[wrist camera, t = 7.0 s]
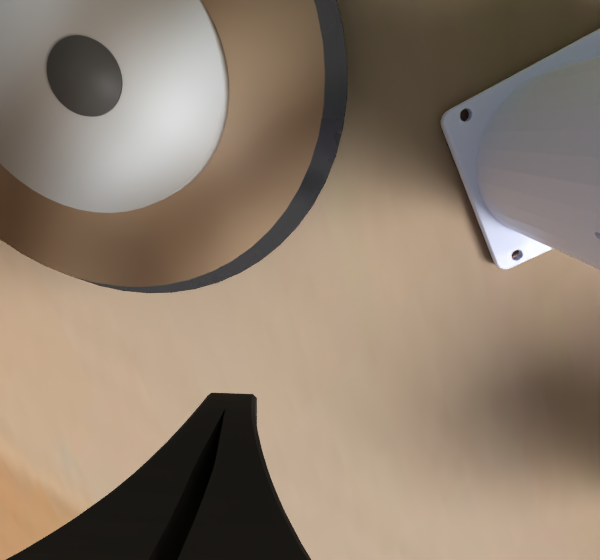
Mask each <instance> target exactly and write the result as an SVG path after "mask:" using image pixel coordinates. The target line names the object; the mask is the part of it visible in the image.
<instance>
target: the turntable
mask: <svg viewBox="0 0 600 560" xmlns="http://www.w3.org/2000/svg"><path fill="white" fill-rule="evenodd" d="M324 88H325V66H324V51H323V41H322V35H321V30H320V24H319V19H318V14H317V9H316V5H315V2H314V0H0V239H1V240H2V241H4V242H5V243H7V244H8V245H10V246H11V247H13V248H14V249H16V250H17V251H19V252H20V253H22V254H24V255H26V256H27V257H29V258H31V259H33V260H35V261H37V262H39V263H41V264H43V265H45V266H47V267H49V268H52V269H54V270H57V271H59V272H62V273H64V274H67V275H69V276H73V277H76V278H80V279H84V280H87V281H91V282H95V283H101V284H108V285H114V286H128V287H148V286H159V285H168V284H173V283H177V282H182V281H186V280H190V279H193V278H196V277H198V276H201V275H204V274H207V273H209V272H212V271H214V270H216V269H218V268H220V267H221V266H223V265H225V264H227V263H229V262H231V261H233V260H234V259H236V258H237V257H238V256H240V255H241V254H243V253H244V252H245V251H247V250H248V249H250V248H251V247H252V246H253V245H254V244H255V243H257V242H258V241H259V240H260V239H261V238H262V237H263V236H264V235H265V234H266V233H267V232H268V231H269V230H270V229H271V228H272V227H273V225H274V224H275V223H276V222H277V220H278V219H279V218H280V217H281V216H282V214H283V213H284V212H285V211H286V209H287V207H288V206H289V204H290V202H291V201H292V199H293V198H294V196H295V194H296V193H297V191H298V189H299V188H300V185H301V183H302V181H303V179H304V176H305V174H306V172H307V170H308V167H309V165H310V163H311V159H312V156H313V153H314V149H315V146H316V143H317V139H318V136H319V130H320V125H321V119H322V113H323V107H324Z"/></svg>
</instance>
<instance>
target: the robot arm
mask: <svg viewBox="0 0 600 560" xmlns="http://www.w3.org/2000/svg"><path fill="white" fill-rule="evenodd" d="M463 109H466V110H467V111H468V112H469V117H468V119H467V120H466V121H462V120H461V119H460V113H461V111H462V110H463ZM441 127H442V130H443V133H444V135H445V138H446V140H447V143H448V145H449V148H450V151H451V153H452V156H453V158H454V161H455V164H456V166H457V169H458V171H459V174H460V176H461V179H462V182H463V184H464V187H465V189H466V192H467V195H468V197H469V200H470V202H471V205H472V207H473V210H474V213H475V215H476V218H477V220H478V223H479V226H480V228H481V231H482V233H483V236H484V239H485V241H486V244H487V246H488V249H489V251H490V254H491V257H492V259H493V262H494V264H495V265H496V266H497V267H499V268H501V269H510V268H512V267H514V266H516V265H518V264H521V263H523V262H525V261H527V260H529V259H531V258H534V257H536V256H538V255H540V254H542V253H545V252H547V251H549V250H551V249H555V250H558V251H560V252H562V253H564V254H566V255H569V256H571V257H573V258H575V259H577V260H580V261H582V262H584V263H586V264H589V265H591V266H593V267H595V268H597V269H600V28H599V29H597V30H596V31H594V32H592V33H590V34H588V35H586V36H585V37H583V38H581V39H579V40H577V41H575V42H573V43H572V44H570V45H568V46H566V47H564V48H562V49H560V50H559V51H557V52H555V53H553V54H551V55H549V56H547V57H546V58H544V59H542V60H540V61H538V62H536V63H534V64H533V65H531V66H529V67H527V68H525V69H523V70H522V71H520V72H518V73H516V74H514V75H512V76H510V77H509V78H507V79H505V80H503V81H501V82H499V83H497V84H496V85H494V86H492V87H490V88H488V89H486V90H484V91H483V92H481V93H479V94H477V95H475V96H473V97H471V98H470V99H468V100H466V101H464V102H462V103H460V104H459V105H457V106H455V107H453V108H451V109H449V110H448V111H446V112H445V113H444V114H443V116H442V118H441ZM515 250H519V253H518V255H517V256H516V257H515V258H512V253H513V252H514V251H515ZM6 560H311V559H310V557H309V555H308V554H307V552H306V550H305V549H304V547H303V545H302V544H301V542H300V540H299V538H298V536H297V534H296V532H295V530H294V529H293V527H292V525H291V523H290V521H289V519H288V517H287V515H286V513H285V511H284V509H283V507H282V504H281V502H280V500H279V498H278V495H277V493H276V490H275V488H274V486H273V483H272V480H271V478H270V475H269V472H268V469H267V466H266V462H265V459H264V456H263V452H262V449H261V444H260V440H259V436H258V431H257V398H256V397H255V396H254V395H253V394H230V393H211V394H209V395H208V396H207V397H206V399H205V400H204V401H203V402H202V403H201V405H200V406H199V407H198V408H197V409H196V411H195V412H194V413H193V414H192V415H191V416H190V418H189V419H188V420H187V421H186V422H185V423H184V424H183V425H182V427H181V428H180V429H179V430H178V431H177V432H176V433H175V434H174V435H173V436H172V437H171V438H170V439H169V440H168V442H167V443H166V444H165V445H164V446H163V447H161V448H160V449H159V450H158V451H157V452H156V453H155V454H154V455H153V456H152V457H151V458H150V459H149V460H148V461H147V462H146V463H145V464H144V465H143V466H142V467H140V468H139V469H138V470H137V471H136V472H135V473H134V474H133V475H131V476H130V477H129V478H128V479H127V480H125V481H124V482H123V483H122V484H121V485H119V486H118V487H117V488H116V489H114V490H113V491H112V492H111V493H109V494H108V495H107V496H105V497H104V498H103V499H101V500H100V501H98V502H97V503H96V504H94V505H93V506H91V507H90V508H89V509H87V510H86V511H84V512H83V513H82V514H80V515H79V516H77V517H76V518H75V519H73V520H72V521H70V522H68V523H67V524H65V525H64V526H62V527H61V528H59V529H58V530H56V531H54V532H53V533H51V534H50V535H48V536H46V537H45V538H43V539H41V540H40V541H38V542H36V543H35V544H33V545H31V546H30V547H28V548H26V549H24V550H23V551H21V552H19V553H17V554H16V555H14V556H12V557H10V558H8V559H6Z"/></svg>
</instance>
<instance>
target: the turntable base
mask: <svg viewBox="0 0 600 560" xmlns="http://www.w3.org/2000/svg"><path fill="white" fill-rule="evenodd" d="M314 2H315V5H316V9H317V14H318V19H319V24H320V30H321V35H322V41H323V51H324V66H325V88H324V107H323V113H322V119H321V125H320V130H319V136H318V139H317V143H316V146H315V149H314V153H313V156H312V159H311V163H310V165H309V167H308V170H307V172H306V174H305V176H304V179H303V181H302V183H301V185H300V188H299V189H298V191H297V193H296V194H295V196H294V198H293V199H292V201H291V202H290V204H289V206H288V207H287V209H286V211H285V212H284V213H283V214H282V216H281V217H280V218H279V219H278V220H277V222H276V223H275V224H274V225H273V227H272V228H271V229H270V230H269V231H268V232H267V233H266V234H265V235H264V236H263V237H262V238H261V239H260V240H259V241H258V242H257V243H255V244H254V245H253V246H252V247H251V248H250V249H248V250H247V251H245V252H244V253H243V254H241V255H240V256H238V257H237V258H236V259H234V260H233V261H231V262H229V263H227V264H225V265H223V266H221V267H220V268H218V269H216V270H214V271H212V272H209V273H207V274H204V275H201V276H198V277H196V278H193V279H190V280H186V281H182V282H177V283H173V284H168V285H159V286H148V287H128V286H114V285H108V284H101V283H95V282H91V281H87V280H84V279H81V280H84V281H87V282H90V283H93V284H96V285H99V286H104V287H108V288H113V289H118V290H122V291H132V292H142V293H168V292H178V291H184V290H191V289H197V288H200V287H203V286H207V285H210V284H214V283H217V282H220V281H222V280H225V279H227V278H229V277H232V276H234V275H236V274H238V273H241V272H242V271H244V270H246V269H247V268H249V267H251V266H252V265H254V264H256V263H257V262H259V261H260V260H262V259H263V258H264V257H266V256H267V255H268V254H269V253H271V252H272V251H273V250H274V249H276V248H277V247H278V246H279V245H280V244H281V243H282V242H283V241H284V240H285V239H286V238H287V237H288V236H289V235H290V234H291V233H292V232H293V231H294V230H295V229H296V228H297V226H298V225H299V224H300V222H301V221H302V220H303V218H304V217H305V215H306V214H307V213H308V211H309V210H310V209H311V207H312V206H313V204H314V202H315V200H316V199H317V197H318V195H319V193H320V191H321V189H322V188H323V186H324V184H325V182H326V180H327V177H328V174H329V172H330V169H331V167H332V164H333V162H334V159H335V157H336V153H337V149H338V145H339V141H340V137H341V133H342V129H343V124H344V116H345V108H346V100H347V58H346V49H345V40H344V31H343V27H342V22H341V18H340V14H339V9H338V5H337V1H336V0H314ZM75 278H76V277H75ZM78 279H80V278H78Z"/></svg>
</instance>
